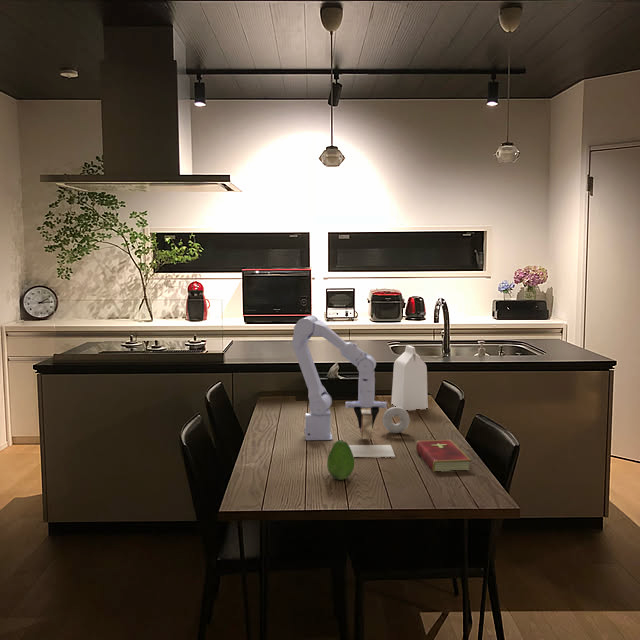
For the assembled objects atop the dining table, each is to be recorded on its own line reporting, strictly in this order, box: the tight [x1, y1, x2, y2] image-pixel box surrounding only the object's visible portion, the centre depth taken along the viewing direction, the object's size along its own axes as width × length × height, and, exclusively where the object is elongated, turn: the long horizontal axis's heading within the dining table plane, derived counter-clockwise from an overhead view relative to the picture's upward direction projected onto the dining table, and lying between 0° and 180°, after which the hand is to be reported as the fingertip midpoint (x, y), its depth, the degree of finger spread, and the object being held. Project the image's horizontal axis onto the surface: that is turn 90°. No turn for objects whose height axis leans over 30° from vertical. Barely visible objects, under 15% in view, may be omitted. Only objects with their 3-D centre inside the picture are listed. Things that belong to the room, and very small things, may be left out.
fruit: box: [326, 439, 355, 481], centre depth 202 cm, size 8×8×12 cm
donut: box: [382, 406, 411, 434], centre depth 249 cm, size 10×4×10 cm, turn 91°
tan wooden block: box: [359, 409, 373, 440], centre depth 239 cm, size 4×9×8 cm, turn 1°
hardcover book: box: [415, 439, 472, 473], centre depth 219 cm, size 12×21×4 cm, turn 6°
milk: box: [390, 344, 429, 411], centre depth 287 cm, size 12×12×26 cm
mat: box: [348, 444, 396, 459], centre depth 228 cm, size 16×12×1 cm
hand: (365, 427), depth 239 cm, fingers closed on tan wooden block, 3 cm apart
